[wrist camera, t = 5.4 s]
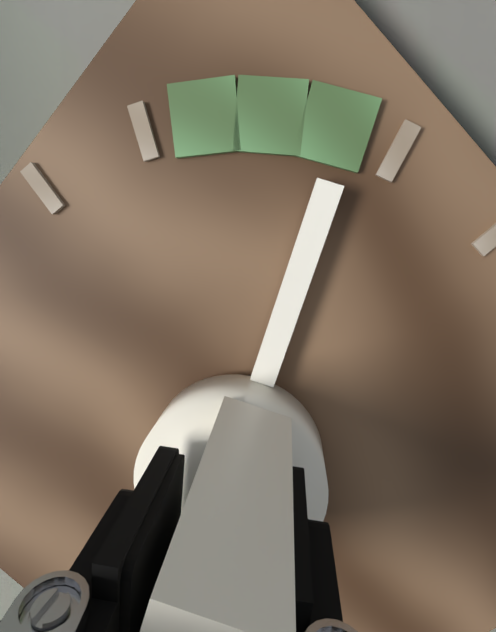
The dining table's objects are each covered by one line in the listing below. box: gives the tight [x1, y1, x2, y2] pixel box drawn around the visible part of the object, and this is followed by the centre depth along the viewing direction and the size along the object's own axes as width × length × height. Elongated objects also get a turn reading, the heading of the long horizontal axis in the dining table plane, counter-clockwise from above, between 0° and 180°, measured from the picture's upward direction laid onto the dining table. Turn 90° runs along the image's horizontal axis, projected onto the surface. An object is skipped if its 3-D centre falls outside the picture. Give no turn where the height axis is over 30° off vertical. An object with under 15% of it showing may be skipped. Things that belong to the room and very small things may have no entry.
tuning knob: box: [134, 178, 344, 632], centre depth 9 cm, size 12×6×8 cm, turn 163°
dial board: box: [0, 0, 496, 632], centre depth 14 cm, size 24×24×2 cm
